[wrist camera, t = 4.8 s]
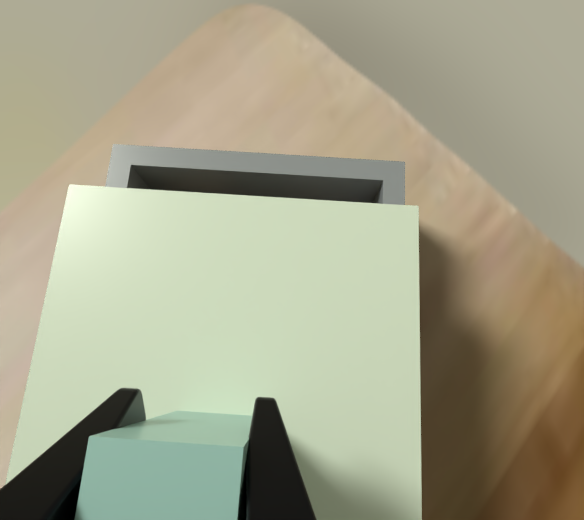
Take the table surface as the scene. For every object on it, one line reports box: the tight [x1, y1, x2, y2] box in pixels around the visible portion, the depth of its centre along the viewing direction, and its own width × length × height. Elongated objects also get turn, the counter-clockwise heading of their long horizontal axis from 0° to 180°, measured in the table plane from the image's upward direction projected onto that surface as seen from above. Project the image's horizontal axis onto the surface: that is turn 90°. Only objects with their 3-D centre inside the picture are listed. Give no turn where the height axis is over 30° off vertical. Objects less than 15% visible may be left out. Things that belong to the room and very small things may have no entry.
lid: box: [5, 185, 422, 520], centre depth 10 cm, size 9×11×6 cm
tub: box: [105, 144, 405, 205], centre depth 17 cm, size 9×11×4 cm
